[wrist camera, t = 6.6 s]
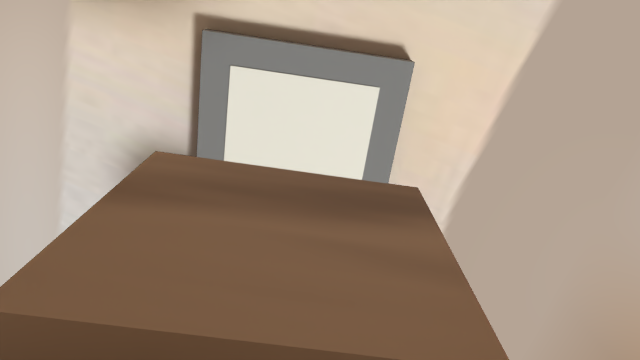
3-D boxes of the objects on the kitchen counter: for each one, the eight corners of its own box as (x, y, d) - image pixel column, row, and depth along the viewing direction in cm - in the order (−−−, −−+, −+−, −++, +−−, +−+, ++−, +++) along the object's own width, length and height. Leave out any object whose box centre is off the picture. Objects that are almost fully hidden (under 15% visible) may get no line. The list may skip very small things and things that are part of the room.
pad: (206, 29, 21) (202, 30, 20) (411, 60, 22) (414, 62, 21) (197, 215, 25) (193, 222, 24) (372, 238, 25) (374, 245, 25)
